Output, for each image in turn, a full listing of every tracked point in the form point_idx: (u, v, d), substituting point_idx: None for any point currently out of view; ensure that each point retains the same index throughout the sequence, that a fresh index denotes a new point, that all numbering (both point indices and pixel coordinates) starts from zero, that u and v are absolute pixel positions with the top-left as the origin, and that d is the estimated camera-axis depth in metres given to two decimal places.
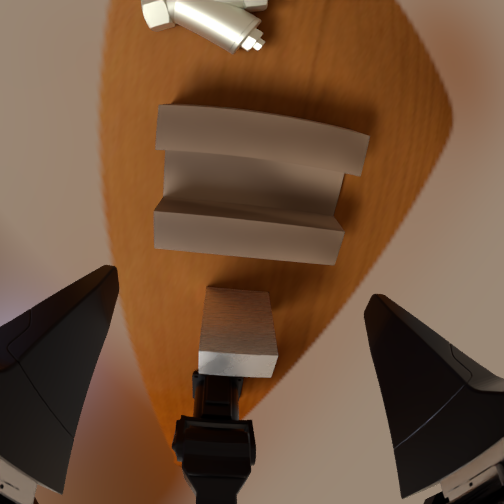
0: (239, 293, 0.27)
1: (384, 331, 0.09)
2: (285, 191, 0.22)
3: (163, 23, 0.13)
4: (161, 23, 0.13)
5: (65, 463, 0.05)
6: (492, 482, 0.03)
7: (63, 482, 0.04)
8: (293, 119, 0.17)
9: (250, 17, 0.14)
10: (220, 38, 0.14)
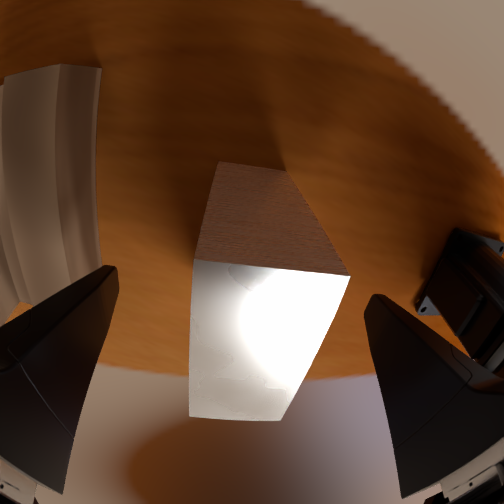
0: None
1: (384, 331, 0.09)
2: None
3: None
4: None
5: (65, 463, 0.05)
6: (492, 482, 0.03)
7: (63, 482, 0.04)
8: None
9: None
10: None
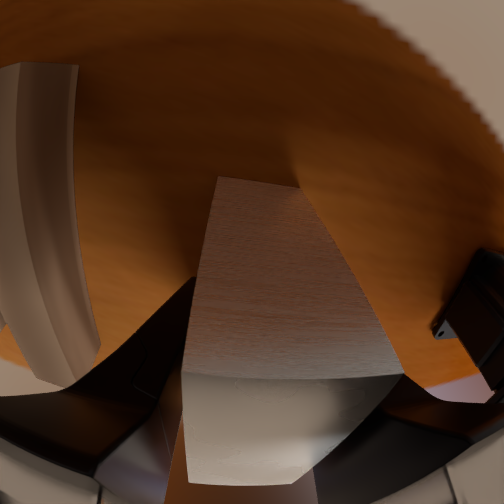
0: None
1: None
2: None
3: None
4: None
5: (165, 489, 0.05)
6: None
7: None
8: None
9: None
10: None
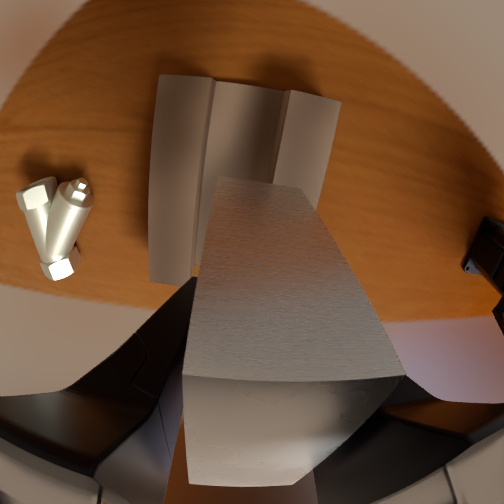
0: None
1: None
2: (249, 150, 0.18)
3: (69, 262, 0.20)
4: (69, 264, 0.20)
5: (165, 489, 0.05)
6: None
7: None
8: (151, 164, 0.16)
9: (55, 197, 0.17)
10: (76, 220, 0.18)
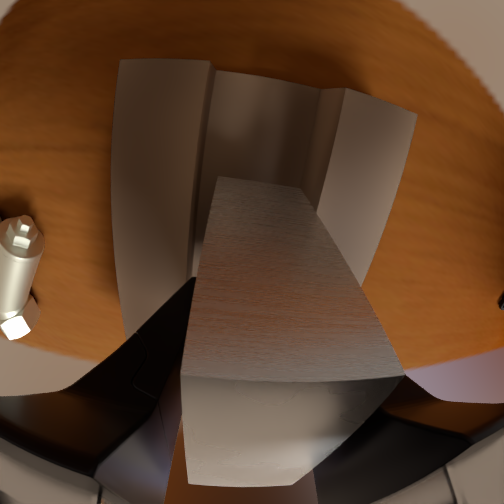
0: None
1: None
2: (267, 179, 0.12)
3: (24, 320, 0.14)
4: (24, 322, 0.14)
5: (165, 489, 0.05)
6: None
7: None
8: (113, 210, 0.10)
9: None
10: (22, 274, 0.12)
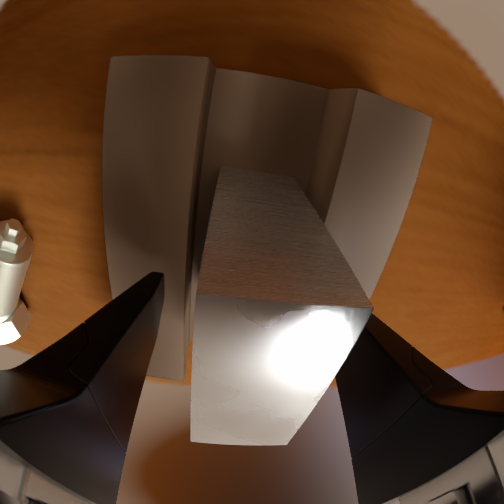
0: None
1: None
2: None
3: (13, 325, 0.13)
4: (14, 327, 0.13)
5: (118, 480, 0.05)
6: None
7: (115, 499, 0.05)
8: (105, 220, 0.09)
9: None
10: (10, 279, 0.11)
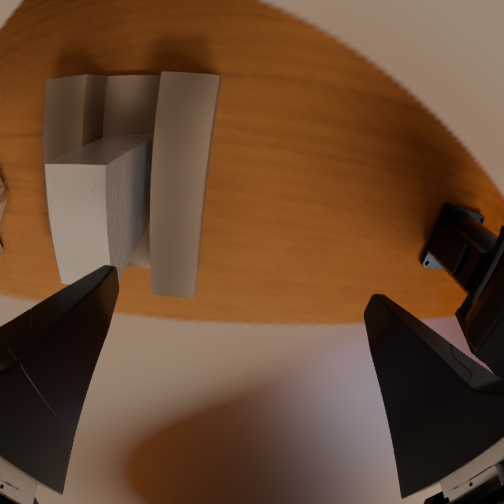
0: None
1: (384, 331, 0.09)
2: None
3: None
4: None
5: (65, 463, 0.05)
6: (492, 482, 0.03)
7: (63, 482, 0.04)
8: (44, 166, 0.13)
9: None
10: None
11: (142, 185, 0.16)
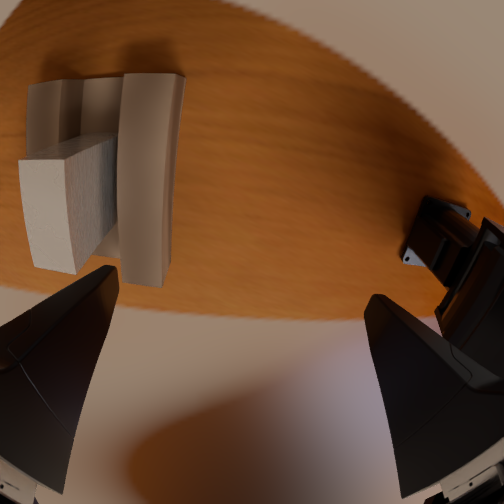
0: None
1: (384, 331, 0.09)
2: None
3: None
4: None
5: (65, 463, 0.05)
6: (492, 482, 0.03)
7: (63, 482, 0.04)
8: None
9: None
10: None
11: (111, 179, 0.16)
